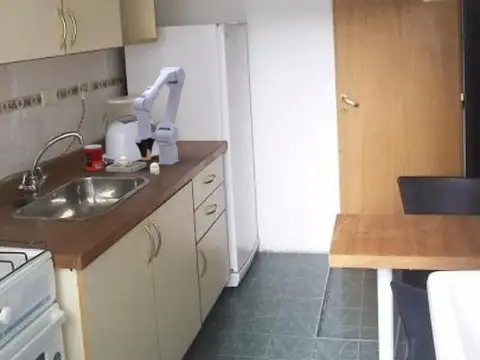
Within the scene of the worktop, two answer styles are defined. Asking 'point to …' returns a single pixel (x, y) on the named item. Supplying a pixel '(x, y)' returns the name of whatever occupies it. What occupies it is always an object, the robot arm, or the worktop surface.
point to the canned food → (93, 157)
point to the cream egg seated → (123, 160)
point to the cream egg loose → (154, 168)
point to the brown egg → (147, 155)
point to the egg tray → (126, 167)
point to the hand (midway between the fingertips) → (146, 156)
